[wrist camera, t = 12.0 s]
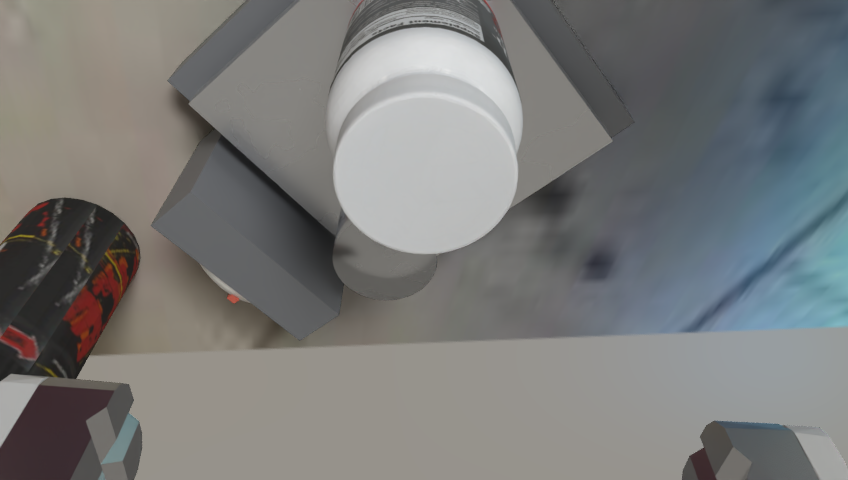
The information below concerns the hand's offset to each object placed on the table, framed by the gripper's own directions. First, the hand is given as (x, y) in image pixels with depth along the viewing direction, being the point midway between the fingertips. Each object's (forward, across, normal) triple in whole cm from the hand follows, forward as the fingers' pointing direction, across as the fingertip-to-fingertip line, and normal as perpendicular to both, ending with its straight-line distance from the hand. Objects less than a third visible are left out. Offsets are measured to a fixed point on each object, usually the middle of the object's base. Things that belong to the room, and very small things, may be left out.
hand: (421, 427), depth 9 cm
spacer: (+18, +1, +8) cm, 20 cm away
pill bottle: (+18, 0, +1) cm, 18 cm away
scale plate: (+19, 0, +4) cm, 20 cm away
